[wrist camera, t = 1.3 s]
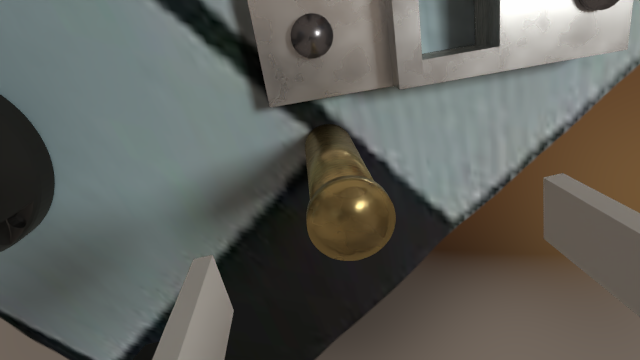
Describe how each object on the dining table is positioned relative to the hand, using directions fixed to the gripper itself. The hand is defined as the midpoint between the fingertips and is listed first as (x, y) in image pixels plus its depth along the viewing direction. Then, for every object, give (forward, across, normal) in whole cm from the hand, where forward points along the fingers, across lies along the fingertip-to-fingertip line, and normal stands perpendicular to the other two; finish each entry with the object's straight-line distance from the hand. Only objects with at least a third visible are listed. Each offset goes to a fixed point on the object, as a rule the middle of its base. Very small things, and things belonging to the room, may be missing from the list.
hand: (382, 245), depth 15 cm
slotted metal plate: (+19, +10, +7) cm, 22 cm away
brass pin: (+19, -1, -1) cm, 19 cm away
